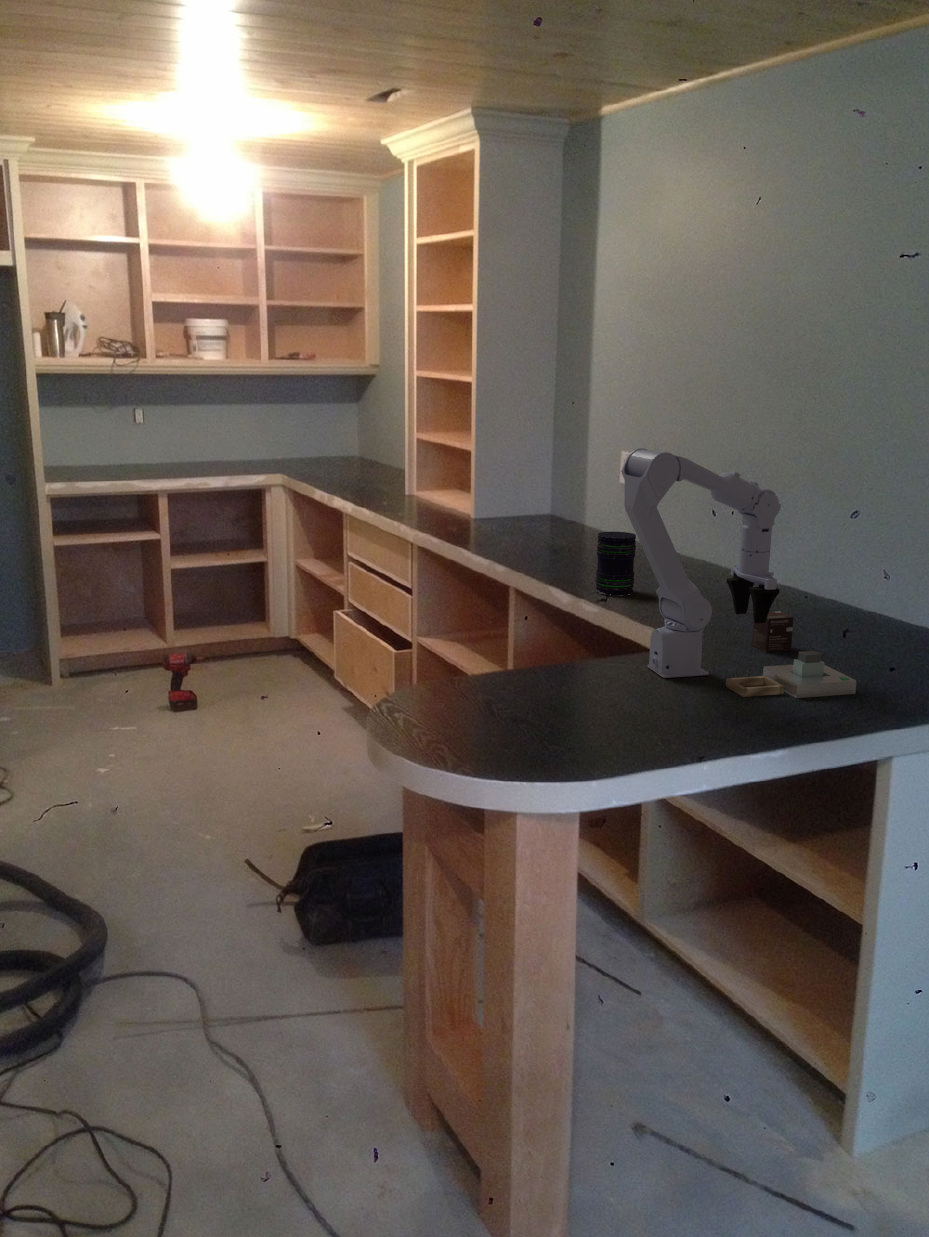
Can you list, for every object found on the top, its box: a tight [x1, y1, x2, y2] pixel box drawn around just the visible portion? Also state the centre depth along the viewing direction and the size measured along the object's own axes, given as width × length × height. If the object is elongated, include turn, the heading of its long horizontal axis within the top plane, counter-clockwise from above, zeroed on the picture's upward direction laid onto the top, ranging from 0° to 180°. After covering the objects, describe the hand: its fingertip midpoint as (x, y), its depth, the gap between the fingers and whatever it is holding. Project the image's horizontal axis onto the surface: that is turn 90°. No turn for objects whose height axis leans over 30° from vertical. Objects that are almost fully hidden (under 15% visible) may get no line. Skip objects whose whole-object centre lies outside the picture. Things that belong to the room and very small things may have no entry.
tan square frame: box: [725, 675, 785, 698], centre depth 202 cm, size 8×7×2 cm
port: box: [762, 663, 857, 699], centre depth 205 cm, size 12×12×3 cm
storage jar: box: [595, 531, 637, 595], centre depth 281 cm, size 10×10×15 cm
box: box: [751, 610, 794, 653], centre depth 231 cm, size 6×6×7 cm
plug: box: [792, 650, 826, 678], centre depth 204 cm, size 4×3×6 cm, turn 104°
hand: (750, 618), depth 217 cm, fingers open, 7 cm apart
